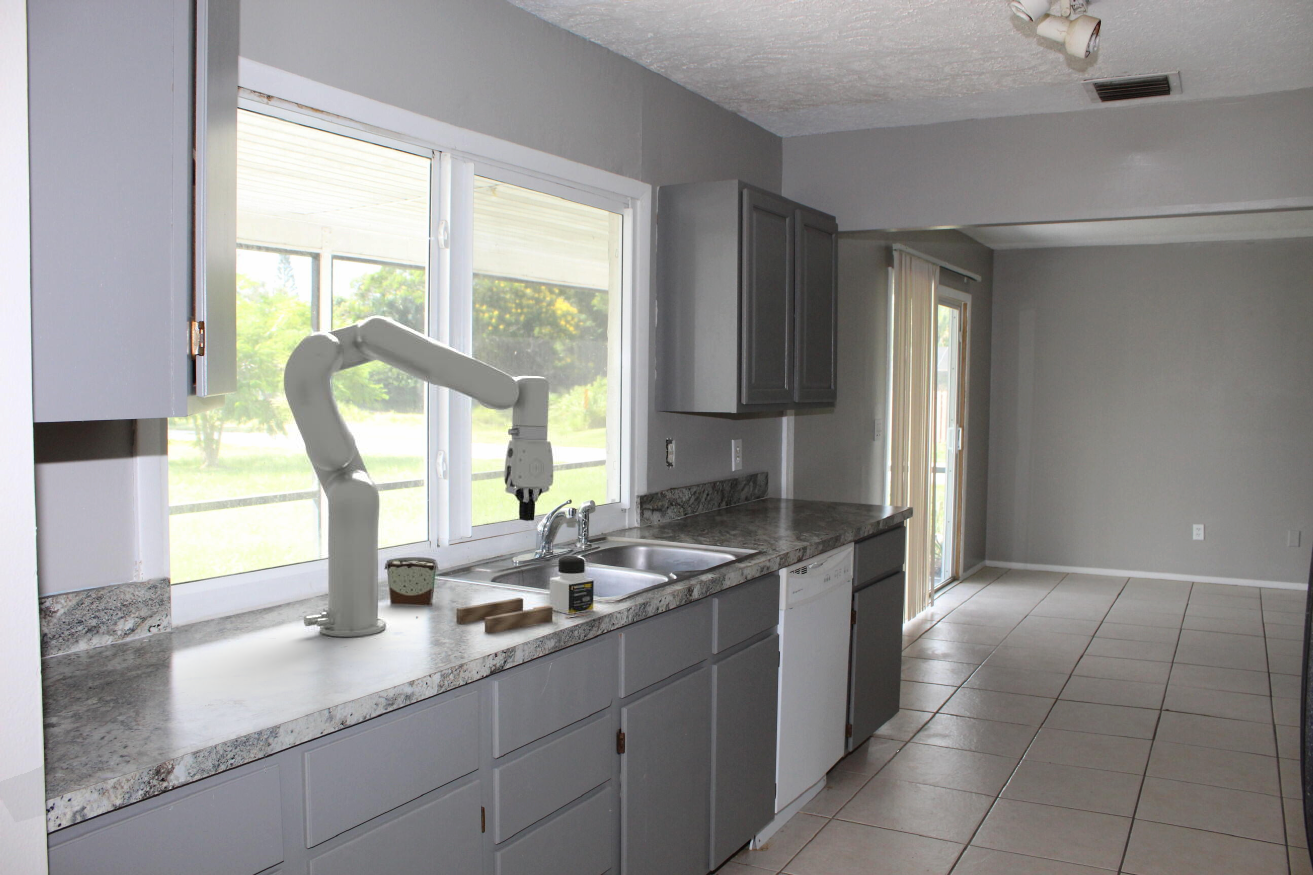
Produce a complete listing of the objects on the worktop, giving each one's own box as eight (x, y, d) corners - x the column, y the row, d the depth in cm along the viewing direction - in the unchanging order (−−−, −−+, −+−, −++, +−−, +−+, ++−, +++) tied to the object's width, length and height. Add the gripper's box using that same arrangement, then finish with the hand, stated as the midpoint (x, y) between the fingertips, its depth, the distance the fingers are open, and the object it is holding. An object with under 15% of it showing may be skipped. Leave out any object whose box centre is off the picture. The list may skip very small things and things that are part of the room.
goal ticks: (567, 618, 204) (567, 617, 204) (533, 608, 213) (533, 607, 213) (589, 614, 208) (589, 613, 208) (554, 604, 217) (554, 603, 217)
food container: (446, 600, 219) (446, 557, 219) (437, 606, 213) (437, 562, 213) (394, 598, 221) (394, 555, 220) (384, 604, 214) (384, 560, 214)
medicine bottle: (568, 615, 207) (569, 560, 207) (548, 609, 212) (549, 556, 212) (594, 610, 212) (594, 557, 212) (573, 604, 217) (574, 552, 217)
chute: (488, 633, 190) (489, 618, 190) (456, 622, 199) (456, 608, 199) (552, 621, 202) (552, 607, 201) (519, 611, 210) (519, 597, 210)
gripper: (511, 435, 195) (507, 524, 195) (568, 435, 205) (565, 520, 206) (490, 433, 200) (487, 519, 201) (546, 433, 210) (543, 516, 211)
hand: (526, 519), depth 203 cm, fingers closed
